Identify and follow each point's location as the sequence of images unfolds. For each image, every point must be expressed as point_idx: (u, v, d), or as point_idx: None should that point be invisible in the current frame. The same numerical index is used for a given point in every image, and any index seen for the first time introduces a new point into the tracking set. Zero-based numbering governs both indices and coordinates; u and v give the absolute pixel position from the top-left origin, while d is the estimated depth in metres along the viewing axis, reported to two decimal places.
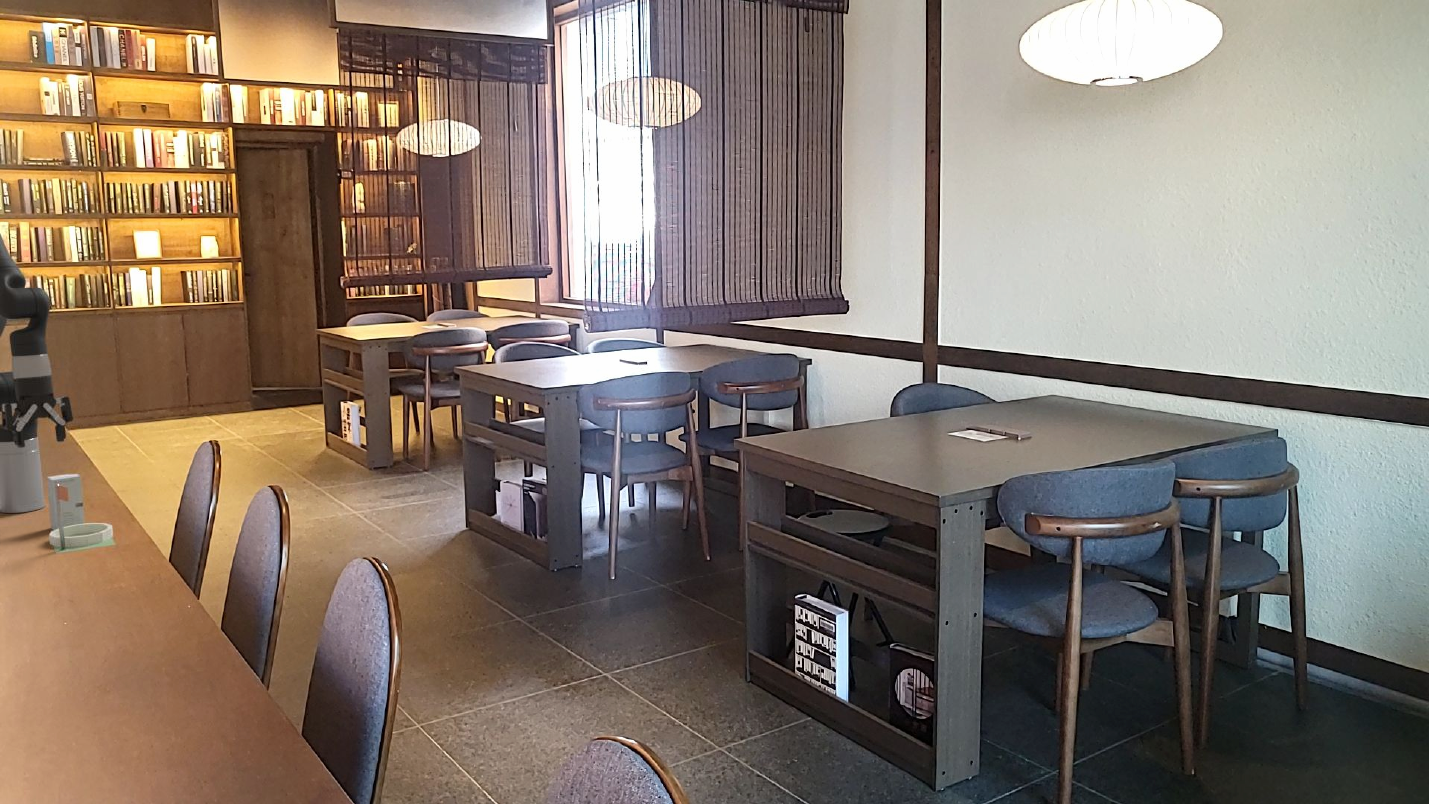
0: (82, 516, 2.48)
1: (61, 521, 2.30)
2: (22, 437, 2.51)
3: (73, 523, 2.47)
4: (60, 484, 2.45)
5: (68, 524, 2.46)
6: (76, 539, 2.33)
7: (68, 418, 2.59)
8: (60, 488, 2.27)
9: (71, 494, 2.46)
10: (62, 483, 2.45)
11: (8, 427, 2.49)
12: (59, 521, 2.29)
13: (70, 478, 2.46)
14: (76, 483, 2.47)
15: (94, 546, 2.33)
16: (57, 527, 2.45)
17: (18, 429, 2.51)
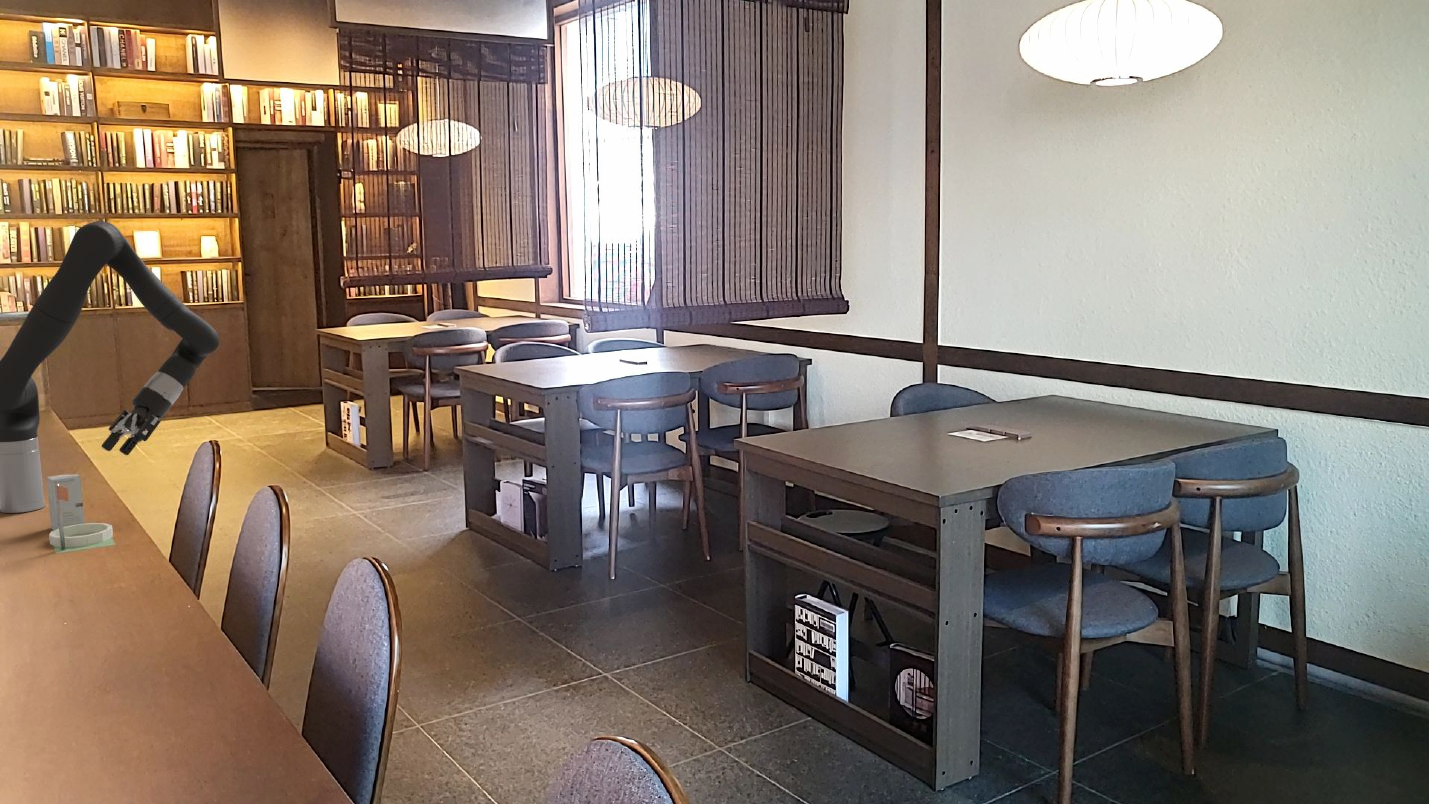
0: (82, 516, 2.48)
1: (61, 521, 2.30)
2: None
3: (73, 523, 2.47)
4: (60, 484, 2.45)
5: (68, 524, 2.46)
6: (76, 539, 2.33)
7: None
8: (60, 488, 2.27)
9: (71, 494, 2.46)
10: (62, 483, 2.45)
11: None
12: (59, 521, 2.29)
13: (70, 478, 2.46)
14: (76, 483, 2.47)
15: (94, 546, 2.33)
16: (57, 527, 2.45)
17: (140, 441, 2.55)
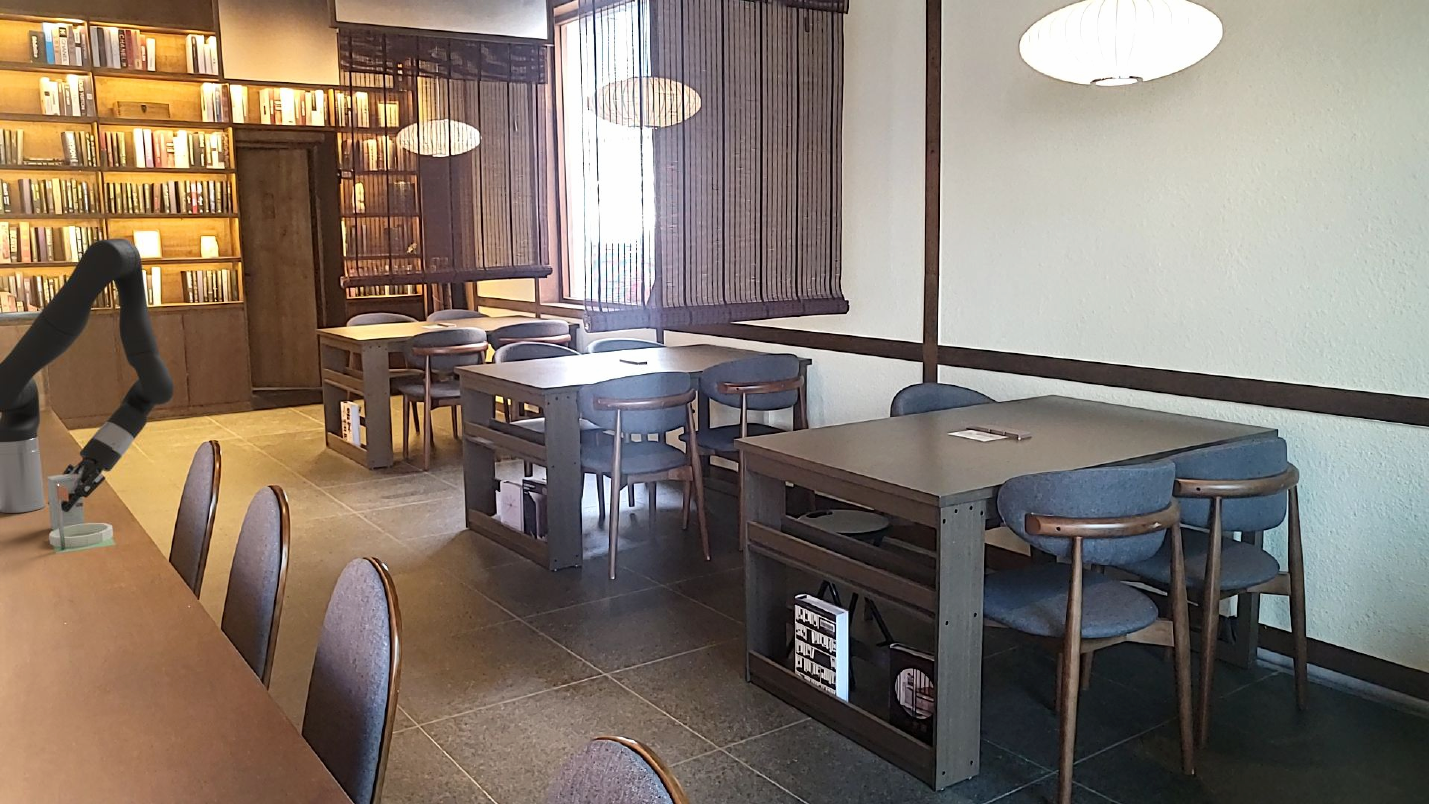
0: (82, 516, 2.48)
1: (61, 521, 2.30)
2: None
3: (73, 523, 2.47)
4: (60, 484, 2.45)
5: (68, 524, 2.46)
6: (76, 539, 2.33)
7: None
8: (60, 488, 2.27)
9: None
10: (62, 483, 2.45)
11: None
12: (59, 521, 2.29)
13: (70, 478, 2.46)
14: None
15: (94, 546, 2.33)
16: (57, 527, 2.45)
17: (81, 497, 2.47)
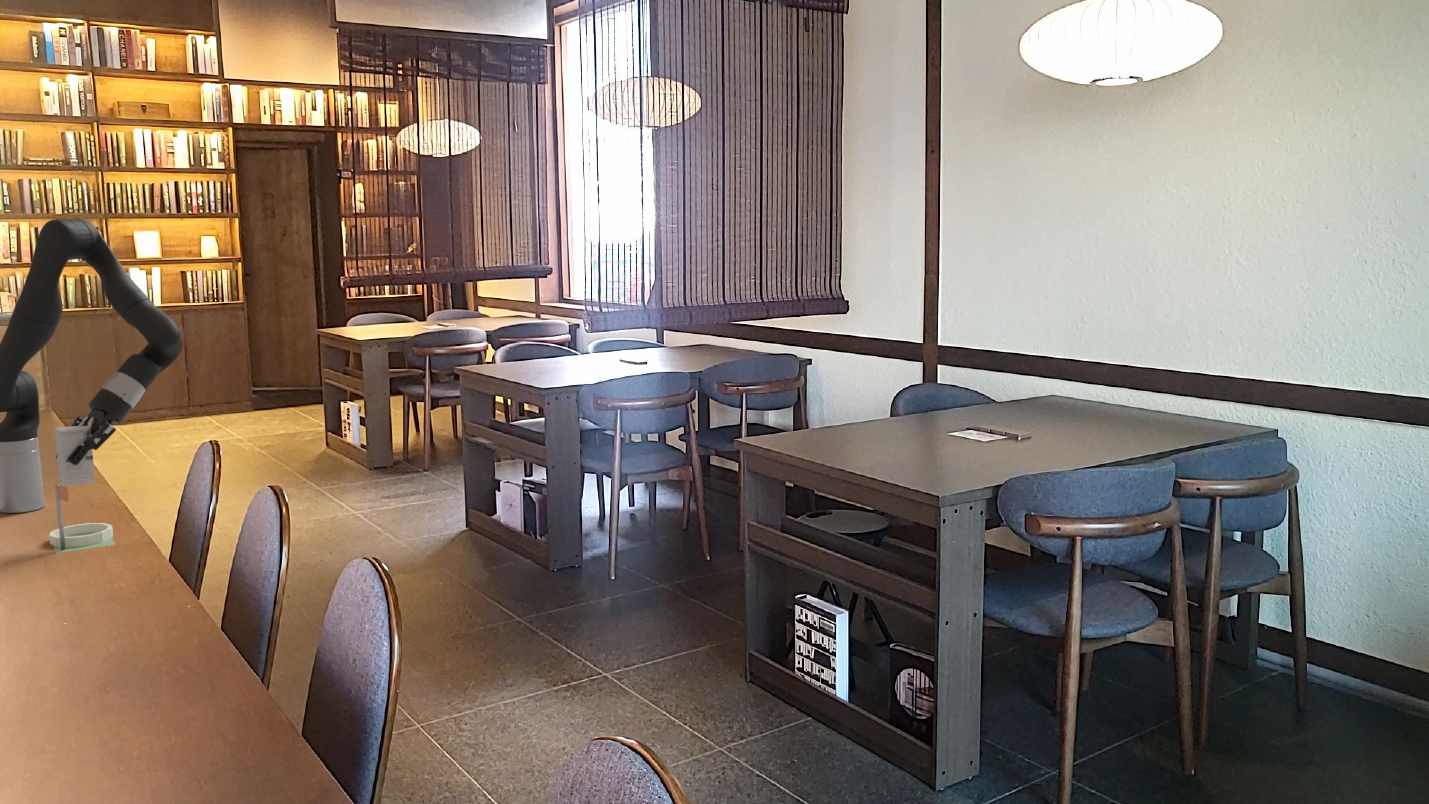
0: (92, 470, 2.36)
1: (61, 521, 2.30)
2: None
3: (83, 477, 2.35)
4: (69, 435, 2.33)
5: (78, 478, 2.35)
6: (76, 539, 2.33)
7: None
8: (60, 488, 2.27)
9: None
10: (71, 435, 2.33)
11: None
12: (59, 521, 2.29)
13: (79, 429, 2.34)
14: None
15: (94, 546, 2.33)
16: (66, 481, 2.33)
17: (91, 450, 2.35)
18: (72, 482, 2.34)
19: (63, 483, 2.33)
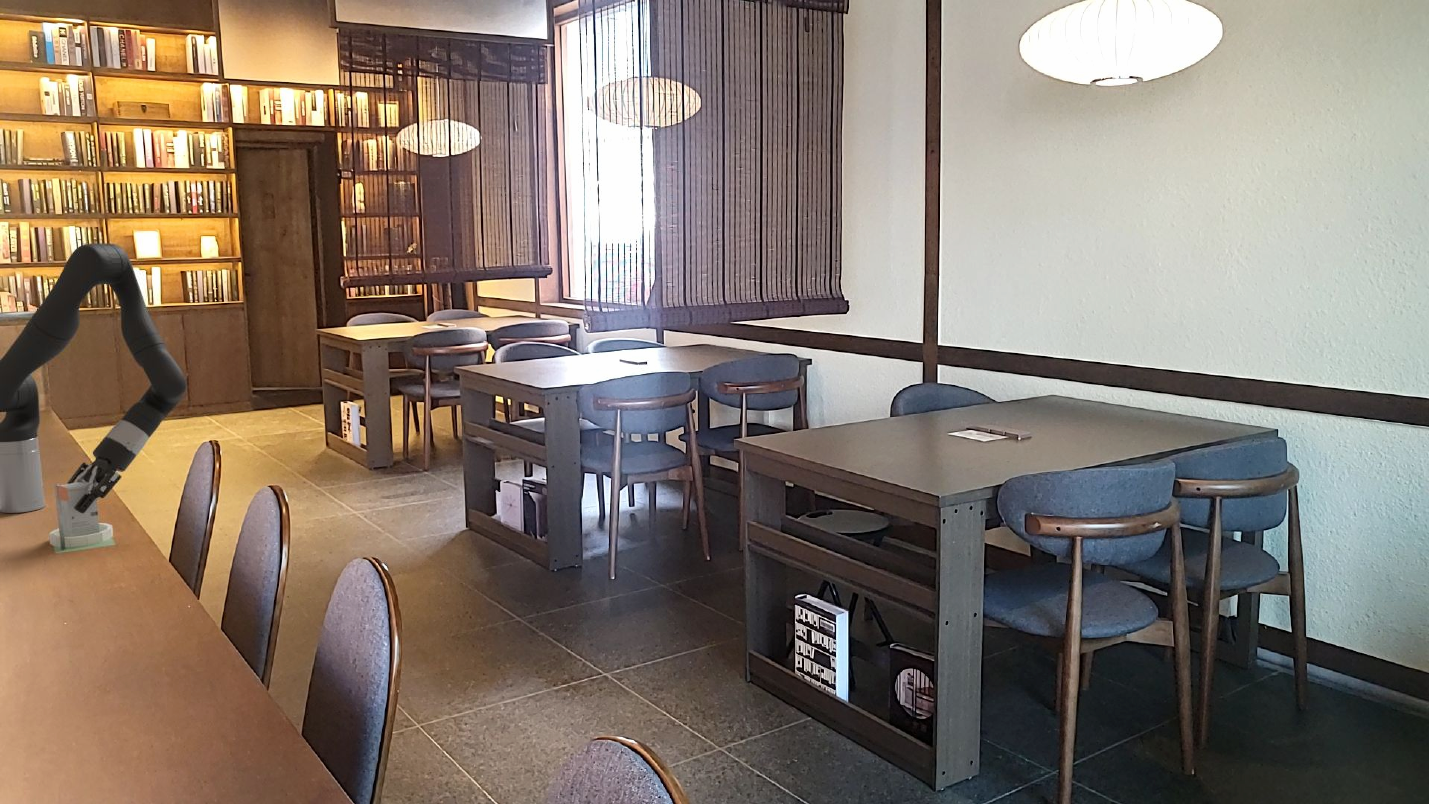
0: (97, 525, 2.39)
1: (61, 521, 2.30)
2: None
3: (88, 533, 2.37)
4: (75, 492, 2.35)
5: (83, 534, 2.37)
6: (76, 539, 2.33)
7: None
8: (60, 488, 2.27)
9: None
10: (77, 492, 2.35)
11: None
12: (59, 521, 2.29)
13: (85, 486, 2.36)
14: None
15: (94, 546, 2.33)
16: None
17: None
18: None
19: None
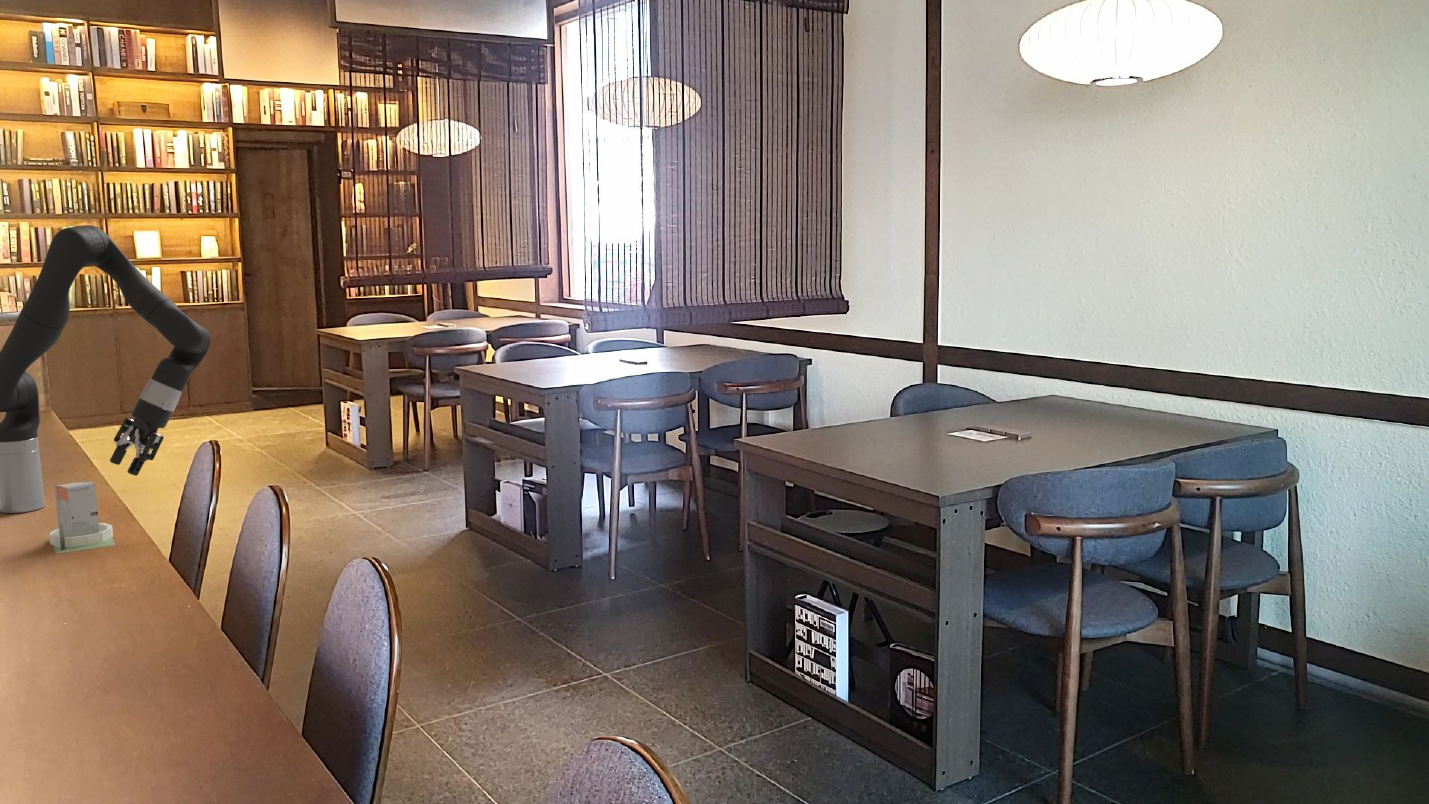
0: (97, 525, 2.39)
1: (61, 521, 2.30)
2: None
3: (88, 533, 2.37)
4: (75, 492, 2.35)
5: (83, 534, 2.37)
6: (76, 539, 2.33)
7: None
8: (60, 488, 2.27)
9: (86, 502, 2.37)
10: (77, 492, 2.35)
11: None
12: (59, 521, 2.29)
13: (85, 486, 2.36)
14: (91, 491, 2.37)
15: (94, 546, 2.33)
16: None
17: None
18: None
19: None
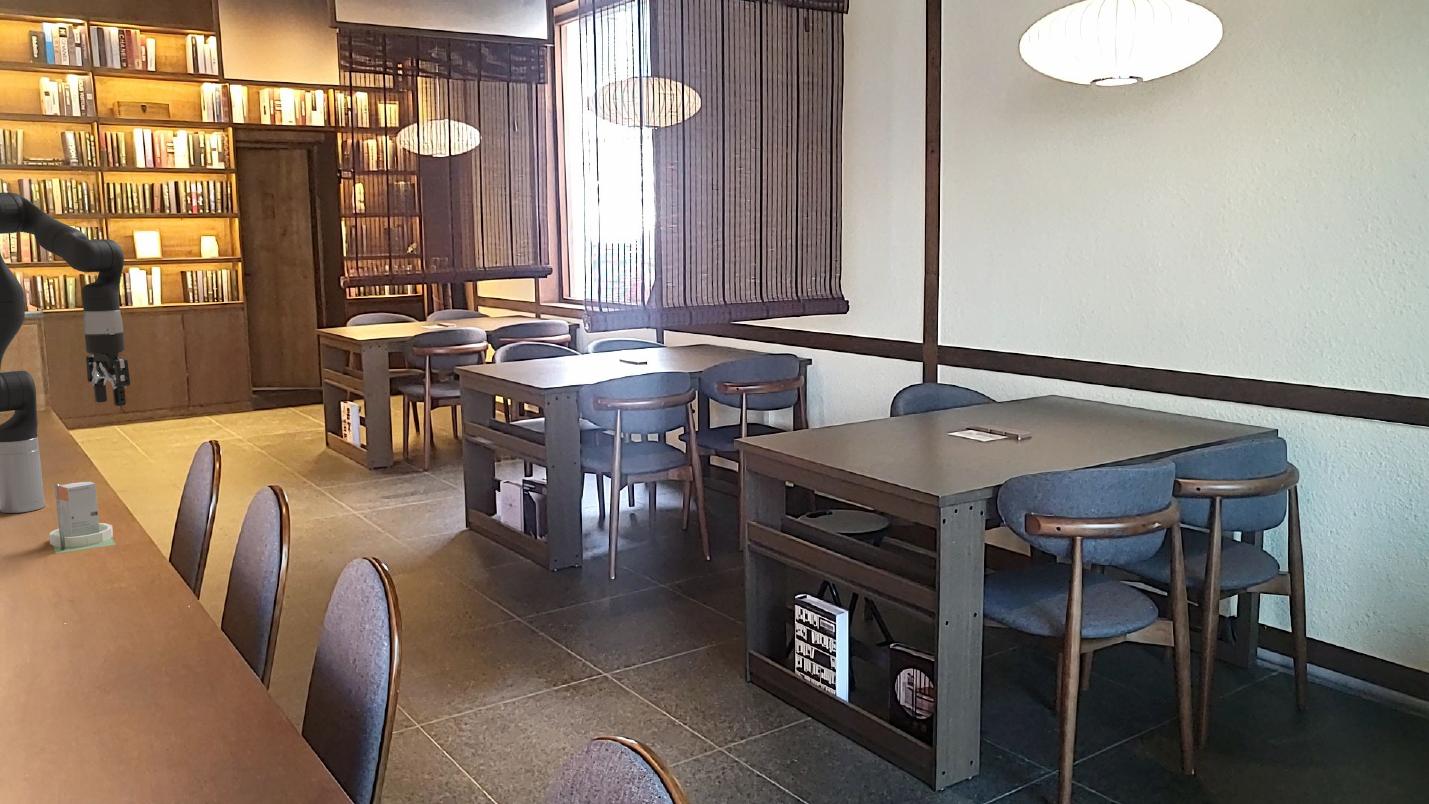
0: (97, 525, 2.39)
1: (61, 521, 2.30)
2: None
3: (88, 533, 2.37)
4: (75, 492, 2.35)
5: (83, 534, 2.37)
6: (76, 539, 2.33)
7: None
8: (60, 488, 2.27)
9: (86, 502, 2.37)
10: (77, 492, 2.35)
11: None
12: (59, 521, 2.29)
13: (85, 486, 2.36)
14: (91, 491, 2.37)
15: (94, 546, 2.33)
16: None
17: None
18: None
19: None
